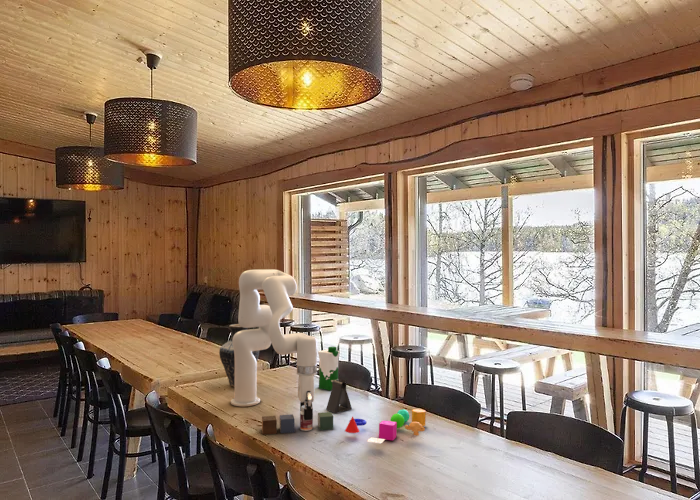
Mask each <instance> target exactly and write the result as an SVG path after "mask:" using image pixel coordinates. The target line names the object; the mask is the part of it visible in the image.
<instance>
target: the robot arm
mask: <svg viewBox="0 0 700 500" xmlns="http://www.w3.org/2000/svg"><path fill="white" fill-rule="evenodd" d="M238 289H239V305H238V316H237V319H238V320H237V321H238V324H239V325H240V326H241V327H244V328H249V330H242V331H239V332H237V333H236V334H235V335H234V336H233V348H234V356H235V387H233V389H234V394H233V395H234V396H233V398H232V399H230V404H231V405H232V406H234V407H242V408H243V407H252V406H256V405H259V404H260V403H261V398H260V397H259V396H258V394H257V393H258V391H257V387H258V360H257V361H256V358H255V357H254V355H253V354H252V351H258V350H260V351H264V350H267V349H269V348H270V347H271V345H272V347H273V349H274V351H275V353H276V354H278V355H280V356H284V355H285V356H286V355H291V354H296V375H297V376H298V381H297V382H298V383H297V398H298V400H299V402H300V403H299V410H300V412H301V406H303V405H305V409H304V420H312V419H313V420H314V407H313V402H314V401H315V375H317V374H318V338H317V337H316V336H313V335H308V334H306V333H304V332H294V333H285V334H283V332H282V329H281V326H280V321H281V320H282V319H284V318H286V317H287V316H288V315H290V314H291V313H292V311H293V308H294V306H293V304H292V301H291V299H290V297H289V296H294V295H295V294H296V293H297V290H298V285H297V281H296V279H295V278H294V276H292V275H291V274H289V273H286V272H283V271H282V270H279V269H274V268H273V269H271V268H270V269H269V268H267V269H260V268H259V269H248V270H245V271H243V272H242V273H240V276H239V278H238ZM258 290H263V293H264V296H265V299H266V300H267V304H260V302H261V295H260V293H259V291H258ZM250 328H251V329H250Z"/></svg>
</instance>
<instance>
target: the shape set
mask: <svg viewBox="0 0 700 500" xmlns="http://www.w3.org/2000/svg"><path fill="white" fill-rule="evenodd" d="M426 413H427V411H426V410H425V409H421V408H413V409H411V422H410V423H409V425H408V424H405V423H407V422H408V421H409V420H410V413H409V411H408V410H407V409H404V408H403V409H399V410H398V411H397V412H396V413H394V414H392V416H390V420H381V421H380V422H379V423H378V438H377V437H373V436H371V437H369V438H368V439H367V440H366V442H368V443H375V444H382V443H383V442H384V441H385V440H386V441H394V440H395V439H396V438H397V436H398V435H397V431H398V430H397V429H400V428H402V427H403V426H404V429H405V430H408V431H412V432H413V436H416V437H417V436H418V437H419V435H420V432H425V430H426V428H425V426H426V419H427V418H426ZM365 425H367V420H366V419H364V418H354V416H353V415H352V416H351V418H350V420H349V421H348V424H347V425H346V428H345V430H344V432H346V433H349V434H357V433H360V429H359V427H362V426H365Z"/></svg>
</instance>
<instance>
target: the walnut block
mask: <svg viewBox="0 0 700 500" xmlns="http://www.w3.org/2000/svg"><path fill="white" fill-rule="evenodd" d="M277 427H278V420H277V416H276V415H264V416H261V433H262V435H263V436H265V435H275V434H278V433H277V432H278V431H277V429H278V428H277Z"/></svg>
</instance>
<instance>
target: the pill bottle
mask: <svg viewBox="0 0 700 500" xmlns="http://www.w3.org/2000/svg"><path fill="white" fill-rule="evenodd" d="M304 409H305V405H303V406H301V411H300V412H299V430H301V431H304V432H309V431H312V430H313V428H314V418H313V419H312V420H304Z"/></svg>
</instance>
